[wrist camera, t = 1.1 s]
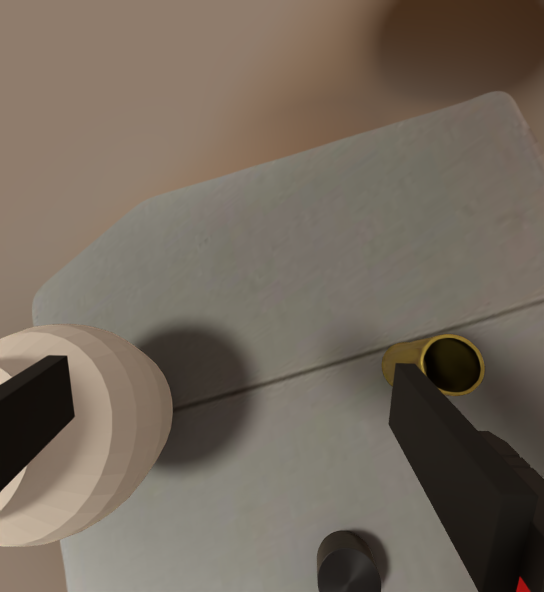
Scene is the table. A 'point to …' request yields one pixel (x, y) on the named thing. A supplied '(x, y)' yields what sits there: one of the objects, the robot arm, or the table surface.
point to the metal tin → (346, 565)
